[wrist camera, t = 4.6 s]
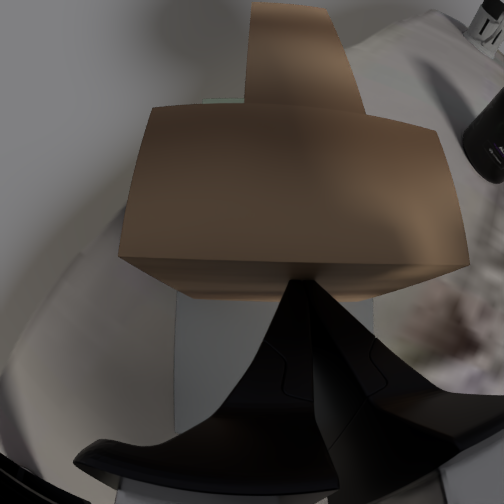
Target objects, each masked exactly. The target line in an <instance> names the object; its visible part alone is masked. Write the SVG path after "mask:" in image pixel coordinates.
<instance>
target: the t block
mask: <svg viewBox="0 0 504 504" xmlns="http://www.w3.org/2000/svg"><path fill="white" fill-rule="evenodd" d="M118 257H120V258H121V259H123V260H125V261H126V262H128V263H130V264H131V265H133V266H135V267H137V268H138V269H140V270H142V271H143V272H145V273H147V274H149V275H150V276H152V277H154V278H156V279H158V280H159V281H161V282H163V283H165V284H167V285H168V286H170V287H172V288H174V289H176V290H178V291H179V292H181V293H183V294H185V295H187V296H189V297H191V298H193V299H206V300H228V301H261V302H280V300H281V298H282V295H283V293H284V291H285V288H286V286H287V284H288V281H289V280H301V281H302V280H315V281H316V282H317V283H318V284H319V285H320V286H321V287H323V288H324V289H325V290H326V291H327V292H328V293H329V294H330V295H331V296H332V297H333V298H335V299H336V300H337V301H338V302H359V301H363V300H366V299H370V298H373V297H376V296H380V295H383V294H387V293H390V292H393V291H396V290H400V289H403V288H406V287H409V286H412V285H415V284H418V283H421V282H424V281H427V280H430V279H433V278H436V277H439V276H442V275H444V274H447V273H450V272H453V271H455V270H458V269H461V268H463V267H466V266H469V265H470V260H469V253H468V247H467V241H466V235H465V230H464V224H463V220H462V215H461V210H460V206H459V202H458V198H457V194H456V190H455V187H454V183H453V179H452V176H451V173H450V169H449V166H448V163H447V160H446V157H445V154H444V151H443V148H442V146H441V143H440V140H439V138H438V135H437V132H436V131H434V130H430V129H427V128H423V127H419V126H415V125H411V124H407V123H403V122H399V121H395V120H390V119H386V118H381V117H376V116H370V115H366V113H365V109H364V106H363V103H362V100H361V96H360V93H359V90H358V87H357V84H356V81H355V78H354V75H353V73H352V70H351V67H350V64H349V62H348V59H347V57H346V54H345V51H344V49H343V46H342V44H341V42H340V39H339V37H338V35H337V32H336V30H335V28H334V25H333V23H332V21H331V19H330V17H329V15H328V13H327V11H326V9H324V8H318V7H310V6H303V5H294V4H281V3H265V2H264V3H262V2H252V7H251V18H250V31H249V43H248V55H247V69H246V81H245V95H244V103H211V104H191V105H176V106H165V107H155V108H152V111H151V114H150V117H149V120H148V124H147V126H146V130H145V133H144V137H143V140H142V143H141V147H140V150H139V154H138V158H137V162H136V166H135V170H134V174H133V178H132V182H131V187H130V191H129V196H128V200H127V205H126V210H125V216H124V221H123V227H122V233H121V239H120V245H119V252H118Z"/></svg>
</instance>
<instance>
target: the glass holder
mask: <svg viewBox="0 0 504 504" xmlns="http://www.w3.org/2000/svg"><path fill="white" fill-rule="evenodd" d="M463 35H464V36H465V38H466V39H467V40H468V41H469V42H470V43H471V44H472V45H474V46H475V47H476V48H477V49H478V50H480V51H481V52H482V53H483V54H485V55H486V56H488V57H489V58H491V59H494V55H495V52H496V51H497V49H498V48H499V46H500V45H501V43H502V42H503V40H504V3H502V2H501V1H500V0H484V2H483V4H482V5H481V6H480V7H479V10H478V11H477V13H476V15H475V17H474V19H473V21H472V23H471V24H470V26H469V28H468V30H467V31H466V32H464V33H463Z"/></svg>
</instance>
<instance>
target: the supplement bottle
mask: <svg viewBox="0 0 504 504" xmlns="http://www.w3.org/2000/svg"><path fill="white" fill-rule="evenodd" d="M463 145H464V149H465V152H466V154H467V156H468V158H469V160H470V162H471V163H472V165H473V166H474V168H475V169H476V170H477V171H478V172H479V174H480V175H481V176H482V177H483V178H485V179H486V180H487V181H489V182H491V183H494V184H500V183H502V182H504V87H503V88H502V89H501V90H500V91H499V93H498V94H497V95H496V96H495V97H494V98H493V100H492V101H491V102H490V103H489V104H488V105H487V106H486V108H485V109H484V110H483V111H482V112H481V113H480V114H479V115H478V116H477V118H476V119H475V120H474V121H473V122H472V123H471V124H470V125H469V126H468V127H467V129H466V130H465V131H464V133H463Z"/></svg>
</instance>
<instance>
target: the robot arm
mask: <svg viewBox="0 0 504 504" xmlns="http://www.w3.org/2000/svg"><path fill="white" fill-rule="evenodd" d="M73 464H74V465H75V466H76V467H78V468H79V469H81V470H82V471H84V472H85V473H87V474H88V475H90V476H92V477H93V478H95V479H97V480H99V481H100V482H102V483H104V484H106V485H107V486H109V487H111V488H113V489H115V490H117V493H116V498H115V503H114V504H315V503H317V502H319V501H320V500H322V499H324V498H326V497H327V499H328V504H504V395H476V394H461V393H451V392H447V391H444V390H442V389H440V388H438V387H436V386H435V385H434V384H432V383H431V382H430V381H428V380H427V379H426V378H424V377H423V376H422V375H421V374H419V373H418V372H417V371H415V370H414V369H413V368H412V367H410V366H409V365H408V364H406V363H405V362H404V361H403V360H401V359H400V358H399V357H398V356H397V355H395V354H394V353H393V352H392V351H391V350H390V349H389V348H387V347H386V346H385V345H384V344H383V343H382V342H381V341H380V340H379V339H378V338H375V336H374V335H373V334H372V333H371V332H370V331H369V330H368V329H367V328H366V327H365V326H364V325H363V324H362V323H361V322H359V321H358V320H357V319H356V318H355V317H354V316H353V315H352V314H351V313H350V312H349V311H348V310H346V309H345V308H344V307H343V306H342V305H341V304H340V303H339V302H338V301H337V300H336V299H335V298H333V297H332V296H331V295H330V294H329V293H328V292H327V291H326V290H325V289H324V288H323V287H321V286H320V285H319V284H318V283H317V282H316V281H315V280H302V281H301V280H289V281H288V284H287V286H286V288H285V291H284V293H283V295H282V298H281V300H280V302H279V305H278V307H277V309H276V312H275V314H274V316H273V318H272V321H271V323H270V325H269V327H268V330H267V332H266V334H265V336H264V338H263V341H262V342H261V345H260V347H259V349H258V351H257V353H256V355H255V357H254V359H253V361H252V362H251V364H250V365H249V367H248V369H247V370H246V372H245V373H244V375H243V376H242V377H241V379H240V380H239V382H238V383H237V384H236V386H235V387H234V388H233V390H232V391H231V392H230V394H229V395H228V397H227V398H226V399H225V401H224V402H223V403H222V404H221V406H220V407H219V408H218V409H217V410H216V411H215V412H214V413H213V414H212V415H211V416H210V417H209V418H207V419H206V420H204V421H202V422H201V423H199V424H197V425H196V426H194V427H192V428H190V429H189V430H187V431H185V432H183V433H181V434H180V435H178V436H176V437H174V438H172V439H170V440H168V441H166V442H164V443H162V444H159V445H154V446H135V445H130V444H126V443H122V442H118V441H114V440H108V439H99V440H97V441H95V442H93V443H92V444H90V445H89V446H87V447H86V448H84V449H83V450H82V451H81V452H80V453H78V455H77V456H76V457H75V459H74V460H73ZM0 504H91V502H89V501H86V500H84V499H82V498H79V497H77V496H75V495H73V494H70V493H68V492H66V491H64V490H62V489H60V488H58V487H56V486H54V485H52V484H50V483H48V482H46V481H44V480H43V479H41V478H39V477H37V476H36V475H34V474H32V473H30V472H29V471H27V470H25V469H24V468H22V467H21V466H19V465H18V464H16V463H14V462H13V461H11V460H10V459H9V458H7V457H6V456H4V455H3V454H1V453H0Z"/></svg>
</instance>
